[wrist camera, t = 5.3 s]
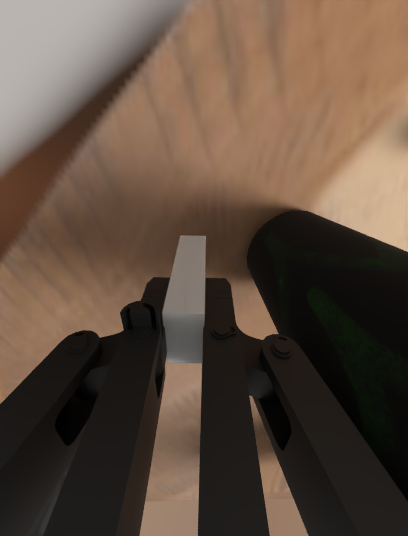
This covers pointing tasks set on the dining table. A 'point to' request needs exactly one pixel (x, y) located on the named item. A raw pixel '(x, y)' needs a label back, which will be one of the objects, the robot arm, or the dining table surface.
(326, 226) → the cup
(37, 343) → the dining table surface
